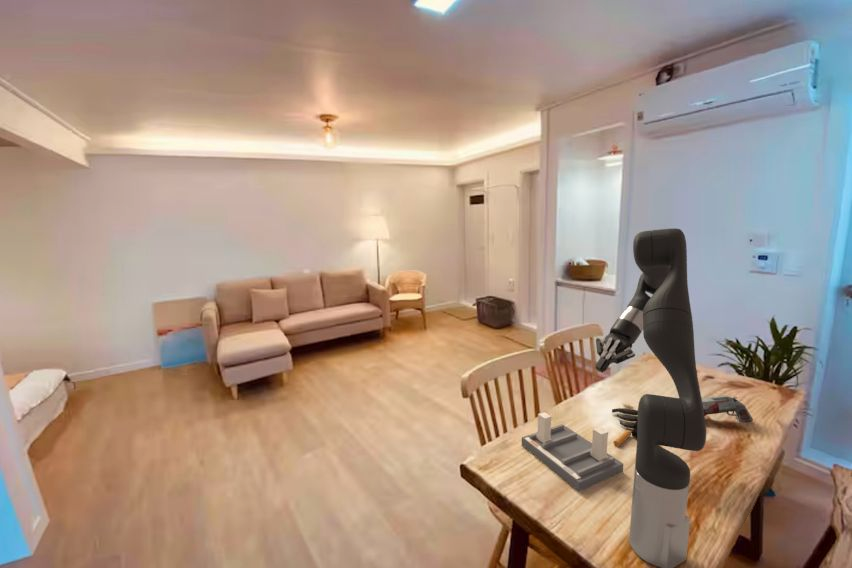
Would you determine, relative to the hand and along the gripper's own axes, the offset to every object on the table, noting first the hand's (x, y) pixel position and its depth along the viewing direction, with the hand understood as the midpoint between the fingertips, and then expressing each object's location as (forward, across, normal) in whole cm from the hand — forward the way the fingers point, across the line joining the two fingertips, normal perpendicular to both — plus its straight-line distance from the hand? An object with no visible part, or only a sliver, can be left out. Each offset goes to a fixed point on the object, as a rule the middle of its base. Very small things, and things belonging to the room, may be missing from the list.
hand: (598, 370), depth 114 cm
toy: (+4, +5, +28) cm, 28 cm away
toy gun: (-15, +11, +46) cm, 50 cm away
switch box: (+26, +4, +5) cm, 27 cm away
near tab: (+21, +11, +6) cm, 24 cm away
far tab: (+26, -3, 0) cm, 27 cm away
